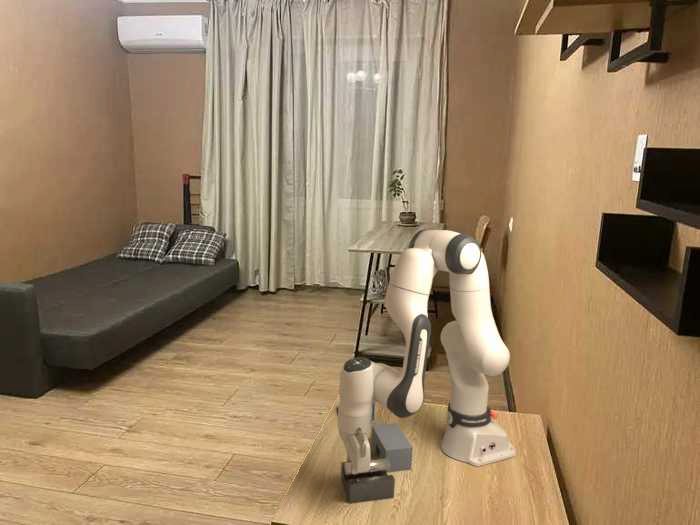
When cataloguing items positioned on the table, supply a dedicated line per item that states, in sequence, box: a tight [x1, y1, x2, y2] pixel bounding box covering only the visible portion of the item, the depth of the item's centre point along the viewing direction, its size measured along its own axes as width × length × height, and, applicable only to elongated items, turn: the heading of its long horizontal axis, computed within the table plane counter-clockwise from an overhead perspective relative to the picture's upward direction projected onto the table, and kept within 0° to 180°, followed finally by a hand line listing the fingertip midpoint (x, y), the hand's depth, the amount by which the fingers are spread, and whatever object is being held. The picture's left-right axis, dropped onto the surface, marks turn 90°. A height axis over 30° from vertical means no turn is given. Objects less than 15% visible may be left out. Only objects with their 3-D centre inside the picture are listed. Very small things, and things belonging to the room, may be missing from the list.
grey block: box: [370, 422, 413, 474], centre depth 155 cm, size 8×14×7 cm, turn 14°
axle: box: [344, 458, 391, 475], centre depth 140 cm, size 12×3×3 cm, turn 104°
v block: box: [340, 457, 396, 504], centre depth 140 cm, size 12×10×6 cm
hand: (352, 467), depth 139 cm, fingers closed on axle, 3 cm apart
